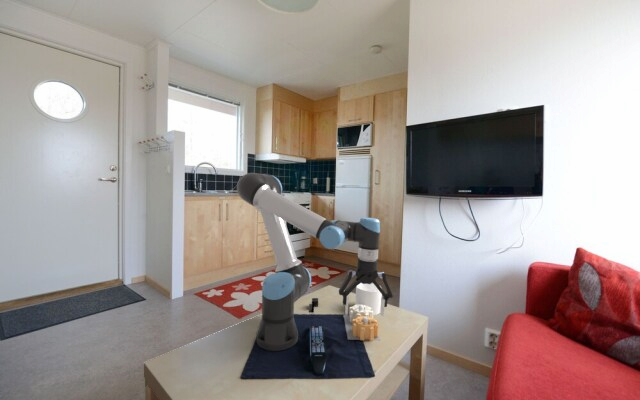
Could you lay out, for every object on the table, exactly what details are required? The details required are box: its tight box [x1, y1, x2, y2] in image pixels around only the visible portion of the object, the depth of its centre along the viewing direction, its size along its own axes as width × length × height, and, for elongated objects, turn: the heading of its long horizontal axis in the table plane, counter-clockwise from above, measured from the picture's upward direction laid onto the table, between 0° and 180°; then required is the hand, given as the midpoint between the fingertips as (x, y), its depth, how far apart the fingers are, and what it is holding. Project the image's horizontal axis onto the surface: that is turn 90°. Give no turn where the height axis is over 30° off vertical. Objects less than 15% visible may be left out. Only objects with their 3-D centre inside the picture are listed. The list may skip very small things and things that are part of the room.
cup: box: [355, 283, 383, 316], centre depth 124 cm, size 12×12×12 cm
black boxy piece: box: [308, 297, 319, 313], centre depth 127 cm, size 12×7×5 cm, turn 0°
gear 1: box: [348, 303, 374, 323], centre depth 113 cm, size 10×10×5 cm
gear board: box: [343, 305, 381, 341], centre depth 108 cm, size 12×19×8 cm, turn 0°
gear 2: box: [352, 316, 380, 342], centre depth 102 cm, size 10×10×5 cm
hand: (364, 313), depth 103 cm, fingers open, 13 cm apart
